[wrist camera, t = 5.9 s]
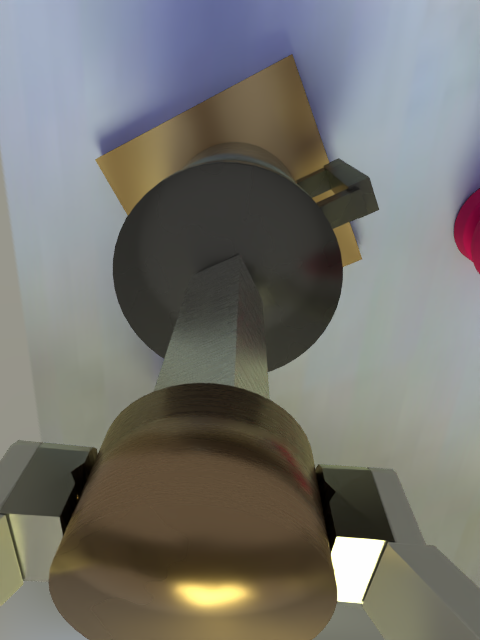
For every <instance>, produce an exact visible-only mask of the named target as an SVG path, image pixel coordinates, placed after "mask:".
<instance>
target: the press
mask: <svg viewBox="0 0 480 640" xmlns="http://www.w3.org/2000/svg"><path fill="white" fill-rule="evenodd" d="M329 190H332V191H333V193H334V195H332V196H330V197H328V198H325V199H323V200H321V201H319V202H317V203H316V202H315V201H314V200H313V199H312V198H313V197H315V196H318V195H320V194H322V193H324V192H327V191H329ZM378 210H379V208H378V204H377V201H376V198H375V195H374V191H373V188H372V185H371V181H370V178H369V177H368V176H366V175H365V174H363V173H362V172H360V171H358V170H357V169H355V168H354V167H352V166H350V165H349V164H347V163H345V162H344V161H342V160H341V159H336V160H334V161H332V162H330V163H328V164H326V165H324V166H323V168H321V169H319V170H317V171H315V172H313V173H310V174H308V175H306V176H304V177H302V178H300V179H298V180H296V182H295V180H294V178H293V177H292V175H291V174H290V172H289V170H288V169H287V168H286V166H285V165H284V164H283V163H282V162H281V161H280V160H279V159H278V158H277V157H276V156H275V155H273V154H272V153H270V152H269V151H267V150H265V149H263V148H261V147H259V146H256V145H253V144H249V143H243V142H227V143H221V144H217V145H214V146H212V147H209V148H207V149H205V150H203V151H202V152H200V153H198V154H197V155H196V156H195V157H193V158H192V159H191V160H190V161H189V162H188V163H187V164H186V165H185V166H184V167H183V168H182V169H181V170H179V171H177V172H175V173H173V174H172V175H170V176H168V177H167V178H165V179H163V180H162V181H161V182H159V183H158V184H157V185H156V186H154V187H153V188H152V189H151V190H150V191H148V192H147V193H146V194H145V195H144V196H143V197H142V199H141V200H140V201H139V202H138V203H137V204H136V205H135V206H134V208H133V209H132V211H131V212H130V214H129V215H128V217H127V218H126V220H125V222H124V224H123V226H122V228H121V230H120V233H119V236H118V239H117V242H116V245H115V251H114V258H113V279H114V287H115V291H116V295H117V299H118V302H119V304H120V307H121V309H122V312H123V314H124V316H125V317H126V319H127V321H128V323H129V324H130V326H131V327H132V329H133V330H134V331H135V333H136V334H137V335H138V337H139V338H140V339H141V340H142V341H143V342H144V343H145V344H146V345H147V346H148V347H149V348H150V349H152V350H153V351H154V352H155V353H157V354H158V355H159V356H161V357H162V358H165V355H166V352H167V349H168V346H169V343H170V340H171V337H172V334H173V330H174V327H175V324H176V321H177V318H178V315H179V312H180V309H181V306H182V303H183V300H184V296H185V293H186V290H187V287H188V284H189V281H190V278H191V275H193V274H196V273H198V272H200V271H203V270H205V269H207V268H209V267H212V266H214V265H216V264H218V263H221V262H223V261H225V260H228V259H230V258H232V257H234V256H237V255H239V254H241V257H242V259H243V261H244V263H245V265H246V267H247V269H248V271H249V273H250V275H251V277H252V279H253V282H254V284H255V286H256V288H257V290H258V292H259V294H260V296H261V298H262V303H263V316H264V329H265V342H266V355H267V368H268V372H269V371H272V370H275V369H277V368H279V367H281V366H284V365H286V364H287V363H289V362H291V361H292V360H294V359H296V358H297V357H299V356H300V355H301V354H303V353H304V352H305V351H306V350H307V349H309V348H310V347H311V346H312V345H313V344H314V343H315V342H316V341H317V339H318V338H319V337H320V336H321V335H322V333H323V332H324V331H325V329H326V327H327V326H328V324H329V323H330V321H331V319H332V317H333V315H334V312H335V310H336V308H337V305H338V301H339V298H340V295H341V288H342V281H343V265H342V258H341V251H340V248H339V244H338V241H337V238H336V235H335V233H334V231H333V229H334V228H336V227H339V226H341V225H343V224H346V223H348V222H350V221H353V220H355V219H357V218H358V219H359V218H361V217H364V216H366V215H368V214H371V213H373V212H375V211H378Z"/></svg>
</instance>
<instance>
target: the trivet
mask: <svg viewBox="0 0 480 640" xmlns="http://www.w3.org/2000/svg"><path fill="white" fill-rule="evenodd" d="M227 142H243V143H249V144H253V145H256V146H259V147H261V148H263V149H265V150H267V151H269V152H270V153H272V154H273V155H275V156H276V157H277V158H278V159H279V160H280V161H281V162H282V163H283V164H284V165H285V166H286V168H287V169H288V170H289V172H290V174H291V175H292V177H293V178H294V180H295V182H296V180H298V179H300V178H302V177H304V176H306V175H308V174H310V173H313V172H315V171H317V170H319V169H321V168H323V166H324V165H326V164H328V163H329V160H328V158H327V155H326V152H325V149H324V146H323V143H322V140H321V137H320V134H319V131H318V128H317V125H316V122H315V119H314V117H313V114H312V111H311V108H310V105H309V102H308V99H307V96H306V93H305V90H304V87H303V84H302V81H301V78H300V76H299V73H298V70H297V67H296V64H295V61H294V58H293V55H290V56H288V57H286V58H284V59H282V60H280V61H278V62H277V63H275V64H273V65H271V66H269V67H267V68H265V69H264V70H262V71H260V72H258V73H256V74H254V75H252V76H250V77H249V78H247V79H245V80H243V81H241V82H239V83H237V84H235V85H234V86H232V87H230V88H228V89H226V90H224V91H222V92H220V93H219V94H217V95H215V96H213V97H211V98H209V99H207V100H206V101H204V102H202V103H200V104H198V105H196V106H194V107H192V108H191V109H189V110H187V111H185V112H183V113H181V114H179V115H177V116H176V117H174V118H172V119H170V120H168V121H166V122H164V123H162V124H161V125H159V126H157V127H155V128H153V129H151V130H149V131H148V132H146V133H144V134H142V135H140V136H138V137H136V138H134V139H133V140H131V141H129V142H127V143H125V144H123V145H121V146H119V147H118V148H116V149H114V150H112V151H110V152H108V153H106V154H104V155H103V156H101V157H99V158H97V159H95V160H96V162H97V164H98V165H99V167H100V169H101V170H102V172H103V174H104V176H105V177H106V179H107V181H108V182H109V184H110V186H111V187H112V189H113V191H114V193H115V194H116V196H117V198H118V199H119V201H120V203H121V205H122V206H123V208H124V210H125V211H126V213H127V215H129V214H130V212H131V211H132V209H133V208H134V206H135V205H136V204H137V203H138V202H139V201H140V200H141V199H142V197H143V196H144V195H145V194H146V193H147V192H148V191H150V190H151V189H152V188H153V187H154V186H156V185H157V184H158V183H159V182H161V181H162V180H163V179H165V178H167V177H168V176H170V175H172V174H173V173H175V172H177V171H179V170H181V169H182V168H183V167H184V166H185V165H186V164H187V163H188V162H189V161H190V160H191V159H192V158H193V157H195V156H196V155H197V154H198V153H200V152H202V151H203V150H205V149H207V148H209V147H212V146H214V145H217V144H221V143H227ZM332 195H334V193H333V191H332V190H329V191H327V192H324V193H322V194H320V195H318V196H315V197H313V198H312V199H313V200H314V201H315V202H316V203H317V202H319V201H321V200H323V199H325V198H328V197H330V196H332ZM333 231H334V233H335V235H336V238H337V241H338V244H339V248H340V251H341V258H342V265H343V267H344V266H346V265H349V264H351V263H354V262H356V261H359V260H361V259H362V257H361V254H360V251H359V248H358V245H357V242H356V240H355V237H354V234H353V231H352V228H351V225H350V222H348V223H346V224H343V225H341V226H339V227H336V228H334V229H333Z"/></svg>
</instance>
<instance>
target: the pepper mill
mask: <svg viewBox="0 0 480 640" xmlns="http://www.w3.org/2000/svg"><path fill="white" fill-rule="evenodd" d="M454 238H455V242H456V244H457V247H458V249H459V250H460V252H461V253H462V254H463V255H464V256H466V257H467V258H468V259H470V260H471V261H472V262H473V263H474V265H475V268H476V270H477V271H478V272H479V274H480V189H478V190H477V191H476V192H475V193H473V194H472V195H471V196H470V197H469V198H468V199H467V201H466V202H465V203H464V205H463V206H462V207H461V209H460V211H459V214H458V216H457V218H456V221H455V226H454Z"/></svg>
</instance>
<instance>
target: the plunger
mask: <svg viewBox="0 0 480 640" xmlns="http://www.w3.org/2000/svg"><path fill="white" fill-rule="evenodd" d="M48 581H49V590H50V594H51V597H52V600H53V602H54V604H55V606H56V608H57V609H58V611H59V613H60V614H61V615H62V616H63V618H64V619H65V620H66V621H67V622H68V623H69V624H70V625H71V626H72V627H73V628H74V629H75V630H76V631H78V632H79V633H81V634H82V635H83V636H84V637H86V638H87V639H89V640H312V639H313V638H315V637H316V636H317V635H318V634H319V633H320V632H321V631H322V630H323V629H324V628H325V626H326V625H327V624H328V622H329V621H330V619H331V617H332V615H333V613H334V611H335V607H336V603H337V583H336V578H335V573H334V567H333V562H332V556H331V551H330V546H329V540H328V535H327V530H326V524H325V519H324V513H323V508H322V503H321V497H320V492H319V486H318V481H317V476H316V470H315V465H314V459H313V454H312V450H311V446H310V443H309V441H308V438H307V436H306V434H305V433H304V431H303V429H302V428H301V426H300V425H299V424H298V423H297V422H296V420H295V419H294V418H293V417H292V416H291V415H290V414H289V413H288V412H286V411H285V410H284V409H283V408H282V407H280V406H279V405H277V404H276V403H274V402H273V401H271V400H270V395H269V382H268V368H267V355H266V342H265V329H264V316H263V303H262V298H261V296H260V294H259V292H258V290H257V288H256V286H255V284H254V282H253V279H252V277H251V275H250V273H249V271H248V269H247V267H246V265H245V263H244V261H243V259H242V257H241V254H239V255H237V256H234V257H232V258H230V259H228V260H225V261H223V262H221V263H218V264H216V265H214V266H212V267H209V268H207V269H205V270H203V271H200V272H198V273H196V274H193V275H191V278H190V281H189V284H188V287H187V290H186V293H185V296H184V300H183V303H182V306H181V309H180V312H179V315H178V318H177V321H176V324H175V327H174V330H173V334H172V337H171V340H170V343H169V346H168V349H167V352H166V355H165V358H164V361H163V365H162V368H161V371H160V374H159V377H158V380H157V383H156V386H155V389H154V392H152V393H150V394H147V395H145V396H143V397H141V398H140V399H138V400H136V401H135V402H133V403H132V404H130V405H129V406H128V407H127V408H125V409H124V410H123V411H122V412H121V413H120V414H119V415H118V416H117V418H116V419H115V420H114V421H113V423H112V425H111V426H110V428H109V429H108V431H107V434H106V436H105V439H104V441H103V443H102V446H101V448H100V450H99V453H98V455H97V457H96V460H95V462H94V465H93V467H92V469H91V472H90V474H89V476H88V479H87V481H86V483H85V486H84V488H83V490H82V493H81V495H80V498H79V500H78V502H77V505H76V507H75V509H74V512H73V514H72V516H71V519H70V521H69V523H68V526H67V528H66V531H65V533H64V535H63V538H62V540H61V542H60V545H59V547H58V549H57V552H56V554H55V556H54V559H53V562H52V564H51V567H50V571H49V579H48Z"/></svg>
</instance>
